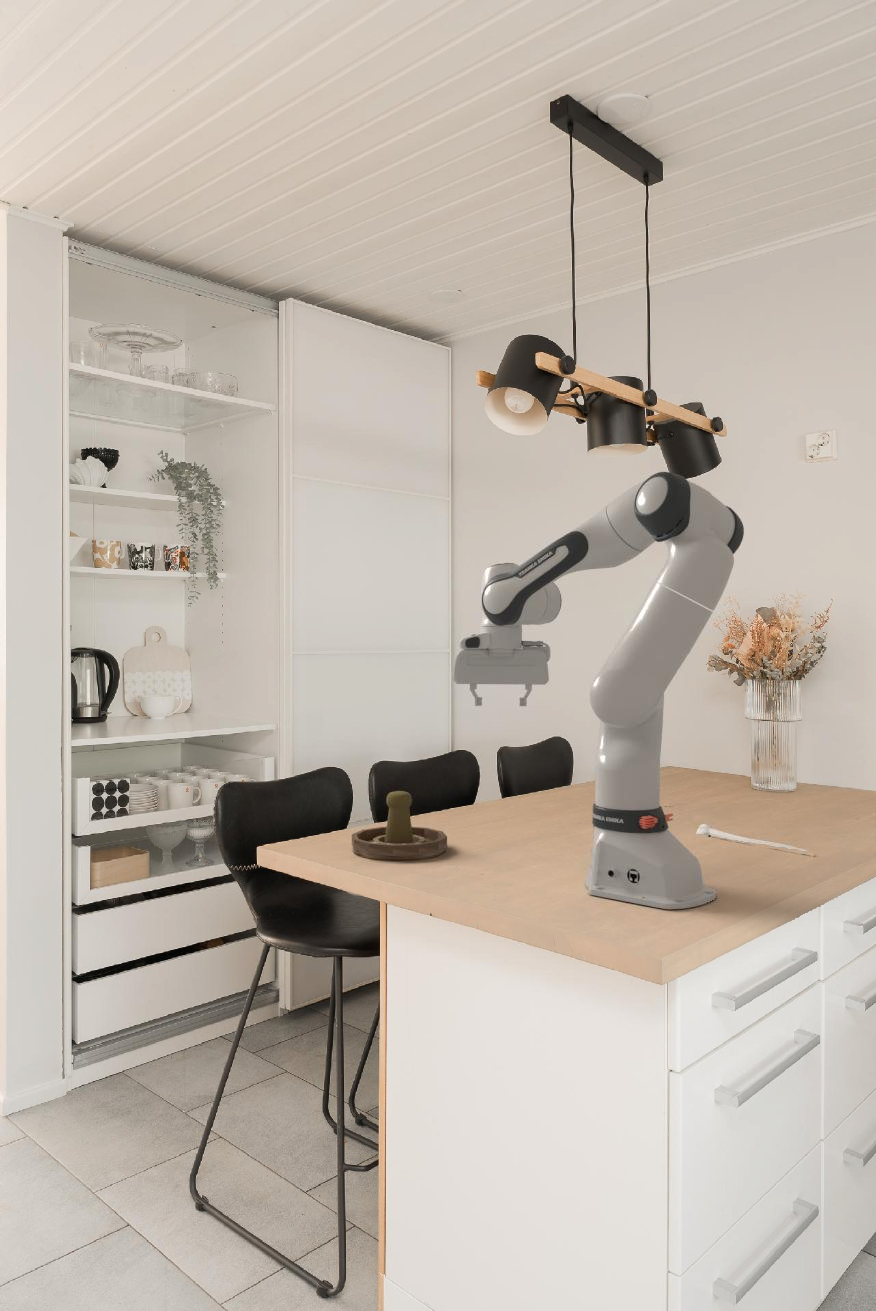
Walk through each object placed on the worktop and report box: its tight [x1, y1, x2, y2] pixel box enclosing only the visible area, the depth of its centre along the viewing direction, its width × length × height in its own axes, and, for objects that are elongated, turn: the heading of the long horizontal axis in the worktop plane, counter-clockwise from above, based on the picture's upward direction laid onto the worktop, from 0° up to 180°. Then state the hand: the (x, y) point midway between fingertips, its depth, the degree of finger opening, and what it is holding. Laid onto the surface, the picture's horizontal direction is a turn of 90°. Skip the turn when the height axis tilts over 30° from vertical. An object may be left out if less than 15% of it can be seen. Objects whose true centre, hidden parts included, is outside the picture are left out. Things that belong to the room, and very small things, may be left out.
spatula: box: [696, 823, 810, 851], centre depth 199 cm, size 28×4×3 cm, turn 39°
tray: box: [351, 826, 448, 862], centre depth 192 cm, size 19×19×3 cm
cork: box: [385, 790, 413, 844], centre depth 192 cm, size 6×6×11 cm
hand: (500, 706), depth 199 cm, fingers open, 8 cm apart
